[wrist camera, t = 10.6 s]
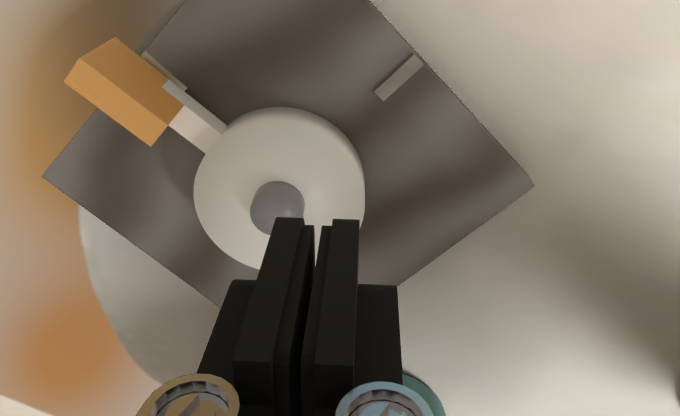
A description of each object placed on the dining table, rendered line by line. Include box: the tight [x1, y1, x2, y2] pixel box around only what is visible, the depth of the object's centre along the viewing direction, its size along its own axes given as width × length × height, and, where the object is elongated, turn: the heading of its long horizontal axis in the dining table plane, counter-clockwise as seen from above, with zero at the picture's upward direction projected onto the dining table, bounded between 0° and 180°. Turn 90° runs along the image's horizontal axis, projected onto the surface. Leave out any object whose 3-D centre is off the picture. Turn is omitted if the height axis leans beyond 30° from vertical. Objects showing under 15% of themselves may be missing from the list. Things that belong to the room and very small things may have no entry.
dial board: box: [42, 0, 534, 308], centre depth 35 cm, size 22×22×2 cm
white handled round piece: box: [64, 37, 365, 270], centre depth 31 cm, size 18×10×5 cm, turn 48°
